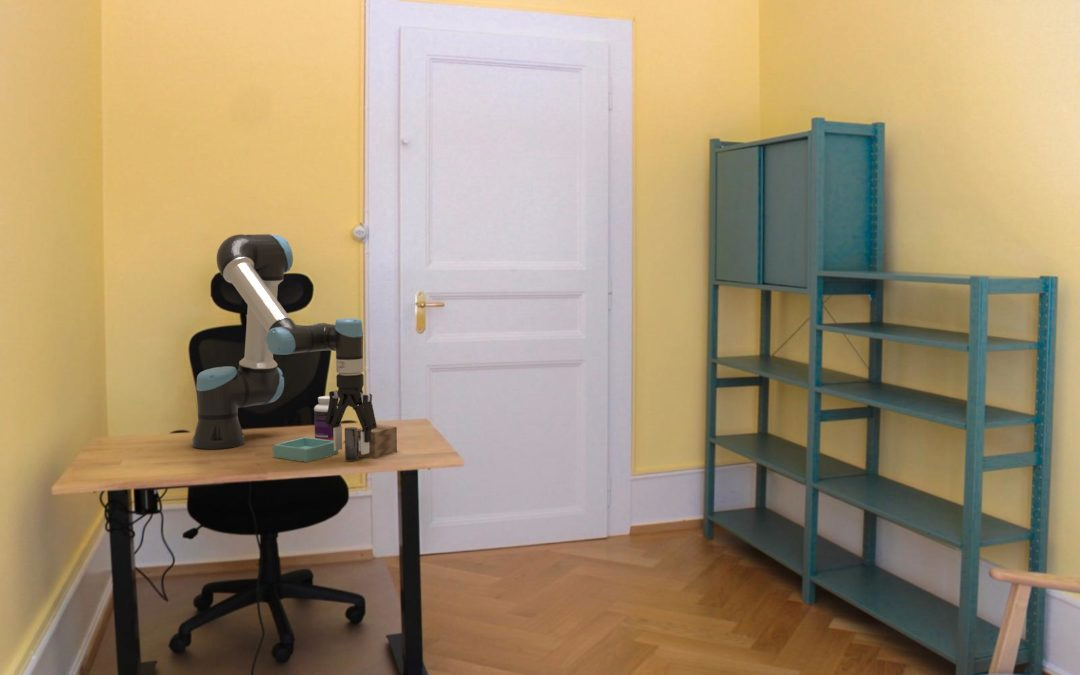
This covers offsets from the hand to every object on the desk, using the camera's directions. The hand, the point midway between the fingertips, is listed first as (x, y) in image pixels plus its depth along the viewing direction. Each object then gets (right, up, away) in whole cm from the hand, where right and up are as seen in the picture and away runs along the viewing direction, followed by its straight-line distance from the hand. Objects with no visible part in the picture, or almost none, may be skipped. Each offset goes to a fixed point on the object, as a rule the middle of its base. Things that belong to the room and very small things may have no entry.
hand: (351, 451), depth 272 cm
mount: (+5, -2, +9) cm, 11 cm away
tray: (-15, -2, +7) cm, 16 cm away
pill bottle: (-12, 0, +24) cm, 27 cm away
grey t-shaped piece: (+3, -2, +6) cm, 7 cm away
